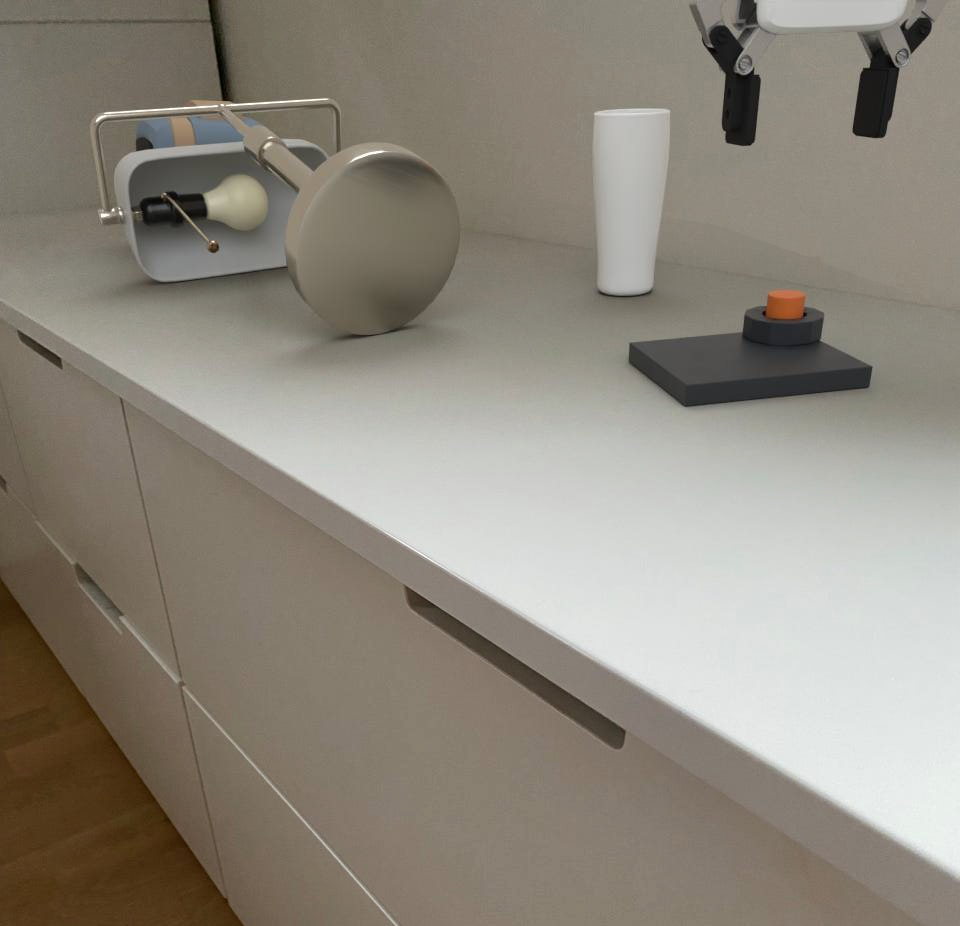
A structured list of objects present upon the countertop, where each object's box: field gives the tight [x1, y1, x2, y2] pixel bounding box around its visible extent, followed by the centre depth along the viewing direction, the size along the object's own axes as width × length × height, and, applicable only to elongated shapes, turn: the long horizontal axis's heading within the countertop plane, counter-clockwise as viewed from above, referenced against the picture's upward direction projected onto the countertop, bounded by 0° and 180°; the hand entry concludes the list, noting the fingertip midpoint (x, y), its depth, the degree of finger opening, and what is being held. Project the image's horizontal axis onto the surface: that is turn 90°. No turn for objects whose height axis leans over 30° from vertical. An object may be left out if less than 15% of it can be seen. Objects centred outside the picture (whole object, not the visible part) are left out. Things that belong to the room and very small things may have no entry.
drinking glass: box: [591, 107, 672, 297], centre depth 89 cm, size 7×7×15 cm
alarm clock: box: [135, 99, 265, 152], centre depth 121 cm, size 16×16×16 cm
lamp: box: [89, 97, 461, 336], centre depth 92 cm, size 27×23×40 cm
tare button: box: [766, 289, 807, 319], centre depth 71 cm, size 3×3×2 cm
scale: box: [628, 305, 874, 407], centre depth 68 cm, size 14×12×3 cm
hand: (804, 139), depth 65 cm, fingers open, 8 cm apart
